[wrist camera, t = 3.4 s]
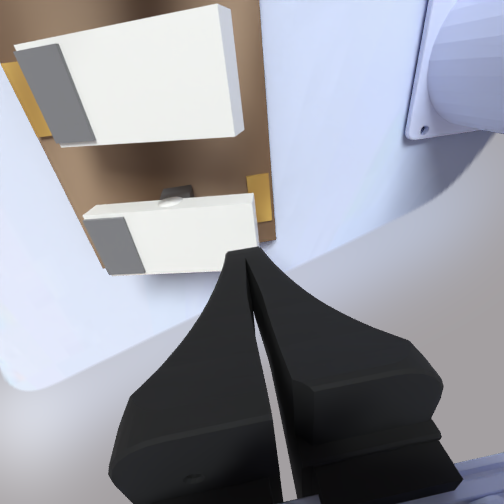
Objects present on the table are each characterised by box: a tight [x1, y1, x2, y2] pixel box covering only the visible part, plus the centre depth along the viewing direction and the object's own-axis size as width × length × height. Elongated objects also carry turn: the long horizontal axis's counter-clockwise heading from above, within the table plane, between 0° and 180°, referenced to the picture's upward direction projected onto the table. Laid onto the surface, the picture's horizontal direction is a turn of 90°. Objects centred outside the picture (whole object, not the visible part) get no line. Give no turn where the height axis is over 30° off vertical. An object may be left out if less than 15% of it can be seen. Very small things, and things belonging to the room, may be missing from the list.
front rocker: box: [13, 4, 244, 148], centre depth 11 cm, size 8×4×2 cm, turn 96°
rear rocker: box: [83, 193, 260, 276], centre depth 14 cm, size 8×4×2 cm, turn 96°
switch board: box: [0, 0, 276, 268], centre depth 14 cm, size 12×13×3 cm
